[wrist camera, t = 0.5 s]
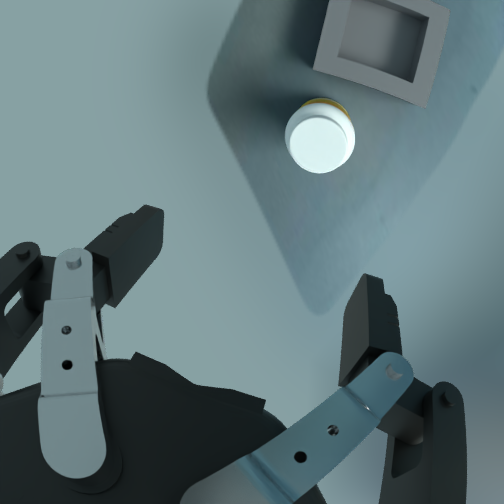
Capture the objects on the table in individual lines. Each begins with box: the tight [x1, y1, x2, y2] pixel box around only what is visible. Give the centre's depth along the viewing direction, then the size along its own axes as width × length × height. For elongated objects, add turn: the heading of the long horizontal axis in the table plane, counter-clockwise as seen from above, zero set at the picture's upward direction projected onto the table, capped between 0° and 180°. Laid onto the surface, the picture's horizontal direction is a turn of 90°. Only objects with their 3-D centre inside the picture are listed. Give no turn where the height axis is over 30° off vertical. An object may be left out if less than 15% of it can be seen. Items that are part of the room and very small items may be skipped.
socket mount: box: [313, 0, 450, 109], centre depth 20 cm, size 10×10×4 cm
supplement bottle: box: [285, 98, 355, 173], centre depth 24 cm, size 5×5×10 cm
